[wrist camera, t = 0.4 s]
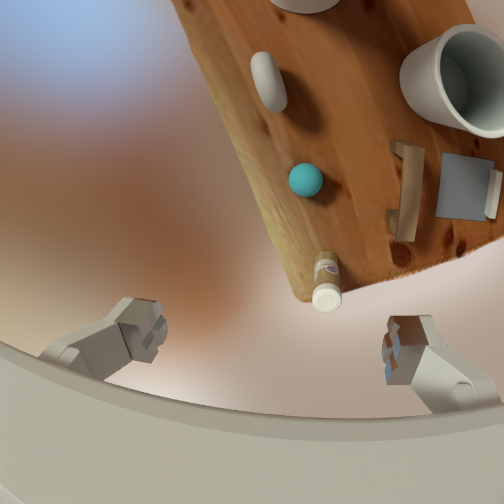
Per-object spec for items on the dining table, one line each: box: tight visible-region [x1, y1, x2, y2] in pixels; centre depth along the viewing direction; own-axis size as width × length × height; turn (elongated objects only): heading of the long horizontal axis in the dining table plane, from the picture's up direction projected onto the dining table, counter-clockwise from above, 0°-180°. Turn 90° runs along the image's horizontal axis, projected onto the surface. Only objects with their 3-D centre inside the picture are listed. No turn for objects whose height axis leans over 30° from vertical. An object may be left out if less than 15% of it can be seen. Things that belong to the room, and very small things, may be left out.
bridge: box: [385, 139, 425, 242], centre depth 45 cm, size 3×14×9 cm, turn 3°
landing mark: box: [435, 152, 495, 221], centre depth 46 cm, size 12×12×1 cm
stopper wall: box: [484, 169, 503, 219], centre depth 44 cm, size 9×2×2 cm, turn 3°
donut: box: [251, 52, 287, 112], centre depth 41 cm, size 10×3×10 cm, turn 16°
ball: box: [289, 163, 323, 197], centre depth 49 cm, size 6×6×6 cm
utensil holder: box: [399, 24, 504, 138], centre depth 32 cm, size 15×15×18 cm
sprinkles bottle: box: [312, 251, 342, 313], centre depth 52 cm, size 5×5×14 cm
